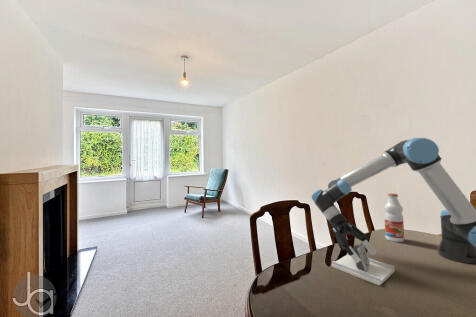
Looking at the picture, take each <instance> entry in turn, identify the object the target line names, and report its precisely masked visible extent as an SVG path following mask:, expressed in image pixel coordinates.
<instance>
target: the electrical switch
mask: <svg viewBox="0 0 476 317" xmlns="http://www.w3.org/2000/svg"><path fill="white" fill-rule="evenodd" d="M352 249H353V250H354V251H355V253H356V254H357V255H358V257H359V258H360V259H361V261H359V262H358V263H356V266H357V269H364V270H365V271H367V270H368V267H369V265H370V262H369V259H370V258H369V255H368V254H367V249H366V248H365V246H364V245H363V243H362V242H361V243H360V244H359V245H358V244H357V245H354V247H352ZM368 258H369V259H368Z"/></svg>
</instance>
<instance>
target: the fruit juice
mask: <svg viewBox="0 0 476 317" xmlns="http://www.w3.org/2000/svg"><path fill="white" fill-rule="evenodd" d="M387 196H388V198H387V201H386V203H385V205H384V211H385V212H384V237H385V239H386V240H388V241H390V242H396V243H403V242H404V241H405V226H404V216H403V211H404V210H403V206H402V205H401V204H400V201H399V198H398V197H399V196H398V193H392V192H391V193H387Z"/></svg>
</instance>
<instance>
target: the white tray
mask: <svg viewBox="0 0 476 317" xmlns="http://www.w3.org/2000/svg"><path fill="white" fill-rule="evenodd" d="M368 259H369V262H370V265H369V267H368V270H367V271H365V270H364V269H357V266H356V263H355V262H354V260H353V259H352V257H351V256H350V255H349V254H348V253H347V252H346V255H344V256H342V257H341V258H339V259H337V260H336V261H335V260H331V264H330V267H331V268H334V269H336V270H338V271H342V272H344V273H347V274H348V275H351V276H354V277H356V278H359V279H362V280H364V281H366V282H368V283H371V284H373V285H374V284H375V285H377V286H381V285H382V284H383V283H384V282H385V281H387V279H388V278H390V277H391V276H392V275H393V274H394V273H395V271H396V269H395V266H394V265H391V264H388V263H385V262H382V261H378V260H376V259H372V258H370V257H368Z"/></svg>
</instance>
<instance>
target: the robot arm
mask: <svg viewBox="0 0 476 317" xmlns="http://www.w3.org/2000/svg"><path fill="white" fill-rule="evenodd" d="M439 152H440V150H439V146H438V145H437V143H436V142H435V141H433V140H431V139H430V138H426V137H414V138H410V139H406V140H402V141H400V142H398V143H397V144H395V145H394V146H391V147H390V148H389V149H387V150H385V151H384V152H382V155H379V156H378V157H376V158H374V159H371V161H368V162H367V163H365V164H362V165H361V166H359V167H357V168H355V169H354V170H351V171H349V172H348V173H345V174H344V175H342V176H340V177H338V178H337V179H333V180H331V181H330V182H329V183H328V185H327V189H326V190H323V189H318V190H316V191H315V192H313V193H312V194H311V200H312V201H313V202H314V204H315V206H316V207H317V209H319V211H320V212H321V214H323V216H324V217H325V218H326V219H327V221H329V222H328V223H329V224H330V225H331V227H332V229H331V230H332V232H333V234H334V236H335V240H336V242H337V245H338V247H339V249H340V250H342V251H346V254H347V253H348V254H349V255H350V256H351V257H352V259H353V260H354V262H355V263H358V262H359V261H361V259H360V258H359V257H358V255H357V254H356V253H355V251H354V250H353V247H352V246H351V245H349V241H348V237H347V235H351V236H353V237H354V238H356V239H358V240H359V241H361V243H363V245H364V247H365V250H366V251H368V252H369V254H370V255H371V256H374V255H375V254H376V253H378V252H377V250H376V249H375V247H373V245H372V244H371V243H370V242H369V240H368V237H369V236H368V235H367V234H366V233H364V232H363V231H361V230H360V229H359V228H358V227H357V226H355V224H354V223H352V221H349V222H348V223H347V219H346V217H345V216H344V214H343V213H342V212H341V211H340V210H339V208H338V207H337V206H336V205H335V203H336V202H337V201H338V202H339V200H340V199H342V198H344V197H345V196H347V195H349V193H350V192H352V191H353V190H352V187H355V186H356V185H359V184H361V183H362V182H364V181H367V180H368V179H370V178H372V177H375V176H376V175H378V174H380V173H382V172H384V171H386V170H388V169H389V168H391V167H392V168H397V167H398V166H401V165H403V164H407V165H408V166H409V167H410V170H412V171H413V172H417V173H419V175H420V176H421V177H422V179H423V180H424V182H425V183H426V184H427V186H428V187H429V188H430V190H431V191H432V192H433V193H434V194H435V196H436V198H437V199H438V200H439V202H441V205H442V206H443V208H445V209H443V210H441V211H440V217H439V218H440V227H441V228H440V229H441V232H440V233H441V239H440V242H439V243H438V246H437V254H439V255H440V256H441V257H443V258H445V259H448V260H452V261H455V262H460V263H465V264H476V208H475V207H474V206H473V204H472V203H471V202H470V201H469V199H468V198H467V197H466V195H465V194H464V193H463V191H462V190H461V189H460V187H459V186H458V184H456V182H455V181H454V179H453V178H452V176H450V175H449V173H448V172H447V171H446V168H444V167H443V166H442V164H441V162H442V158H441V156H440V155H439Z"/></svg>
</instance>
